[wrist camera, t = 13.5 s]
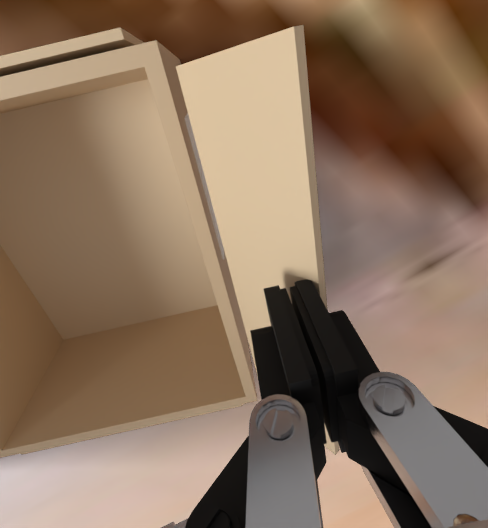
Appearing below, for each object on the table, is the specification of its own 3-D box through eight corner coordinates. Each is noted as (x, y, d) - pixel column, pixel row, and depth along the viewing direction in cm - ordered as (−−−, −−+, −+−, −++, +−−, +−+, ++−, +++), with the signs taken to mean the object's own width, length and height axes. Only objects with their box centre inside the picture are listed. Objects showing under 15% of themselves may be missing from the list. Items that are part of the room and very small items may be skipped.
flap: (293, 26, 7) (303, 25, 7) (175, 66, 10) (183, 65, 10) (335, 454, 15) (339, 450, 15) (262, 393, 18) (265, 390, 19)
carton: (244, 305, 28) (260, 406, 19) (65, 345, 28) (3, 462, 19) (178, 48, 18) (153, 17, 10) (-92, 111, 18) (-353, 137, 10)
